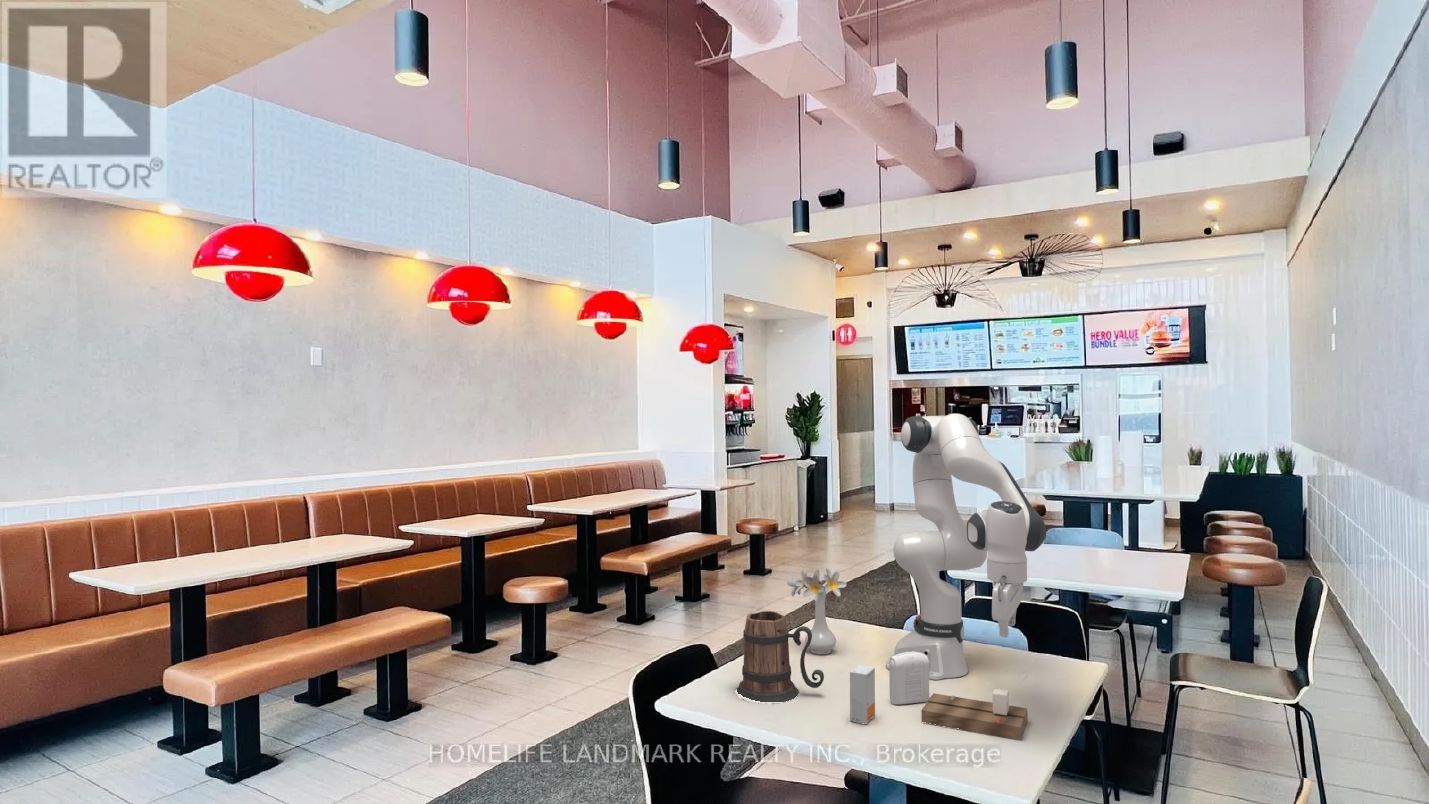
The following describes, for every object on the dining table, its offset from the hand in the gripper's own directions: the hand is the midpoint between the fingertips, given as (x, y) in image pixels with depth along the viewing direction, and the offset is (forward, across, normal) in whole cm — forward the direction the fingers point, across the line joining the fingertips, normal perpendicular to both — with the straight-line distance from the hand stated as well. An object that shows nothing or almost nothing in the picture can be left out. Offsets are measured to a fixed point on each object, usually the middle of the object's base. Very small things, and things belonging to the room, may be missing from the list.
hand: (1007, 630), depth 187 cm
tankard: (+22, -7, +56) cm, 61 cm away
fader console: (+22, -4, +7) cm, 23 cm away
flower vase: (+23, +29, +60) cm, 70 cm away
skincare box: (+22, -14, +31) cm, 40 cm away
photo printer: (+22, +2, +24) cm, 33 cm away
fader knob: (+20, -3, +1) cm, 20 cm away
